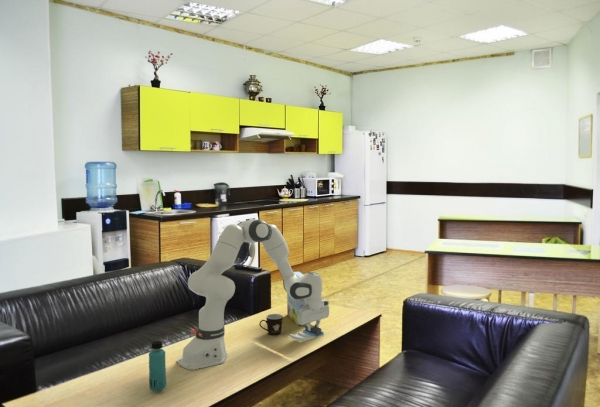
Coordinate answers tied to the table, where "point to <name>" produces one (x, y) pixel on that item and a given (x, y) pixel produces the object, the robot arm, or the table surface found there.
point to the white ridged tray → (304, 336)
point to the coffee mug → (273, 324)
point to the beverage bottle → (157, 367)
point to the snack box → (294, 304)
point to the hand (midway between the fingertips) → (313, 329)
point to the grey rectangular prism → (314, 330)
